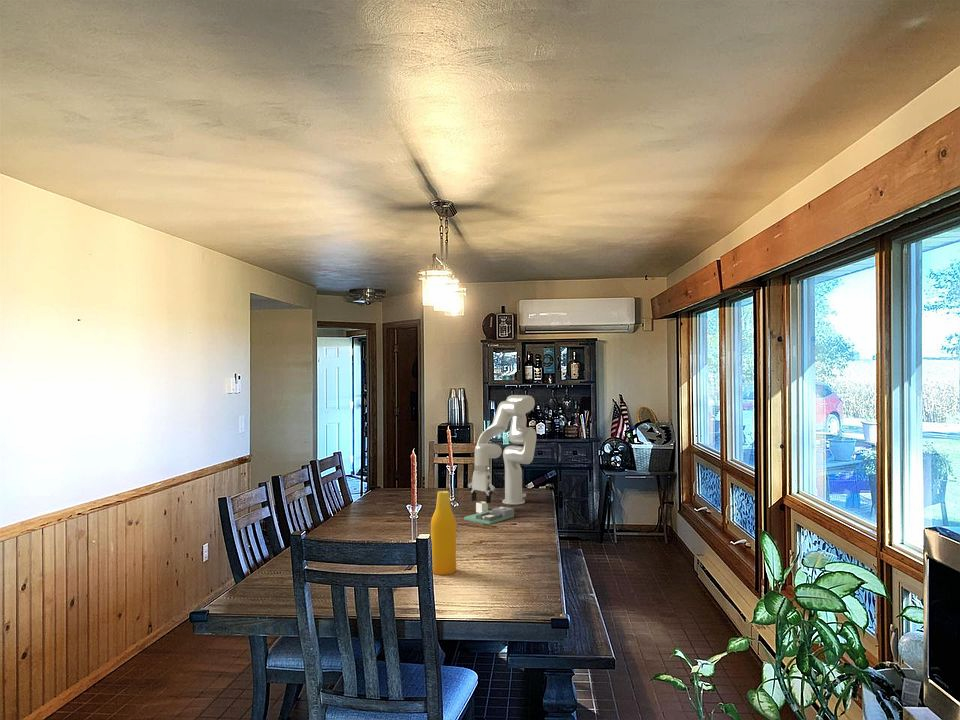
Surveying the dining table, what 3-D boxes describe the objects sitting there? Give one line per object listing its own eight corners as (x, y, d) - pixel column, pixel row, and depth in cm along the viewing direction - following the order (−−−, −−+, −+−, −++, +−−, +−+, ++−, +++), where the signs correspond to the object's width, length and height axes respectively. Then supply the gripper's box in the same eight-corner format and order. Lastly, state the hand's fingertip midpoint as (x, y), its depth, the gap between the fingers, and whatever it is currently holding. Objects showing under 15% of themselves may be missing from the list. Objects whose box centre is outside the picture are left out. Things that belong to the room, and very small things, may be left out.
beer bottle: (442, 566, 240) (442, 488, 241) (461, 570, 234) (461, 491, 235) (425, 572, 233) (425, 492, 234) (444, 577, 227) (444, 495, 228)
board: (489, 512, 332) (489, 510, 332) (514, 516, 321) (514, 514, 321) (464, 519, 316) (464, 517, 316) (489, 524, 306) (489, 521, 306)
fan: (501, 512, 326) (501, 505, 327) (514, 514, 321) (514, 507, 321) (491, 515, 320) (491, 507, 320) (504, 517, 315) (504, 510, 315)
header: (488, 515, 320) (488, 511, 320) (501, 517, 315) (501, 514, 315) (476, 518, 313) (476, 515, 313) (489, 521, 307) (489, 517, 307)
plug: (482, 510, 336) (482, 500, 337) (488, 511, 334) (488, 501, 334) (476, 512, 333) (476, 501, 333) (482, 513, 330) (482, 502, 330)
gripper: (499, 469, 331) (498, 503, 330) (473, 466, 342) (473, 498, 341) (490, 471, 325) (489, 504, 324) (464, 467, 336) (463, 500, 335)
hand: (481, 501), depth 333 cm, fingers open, 9 cm apart
